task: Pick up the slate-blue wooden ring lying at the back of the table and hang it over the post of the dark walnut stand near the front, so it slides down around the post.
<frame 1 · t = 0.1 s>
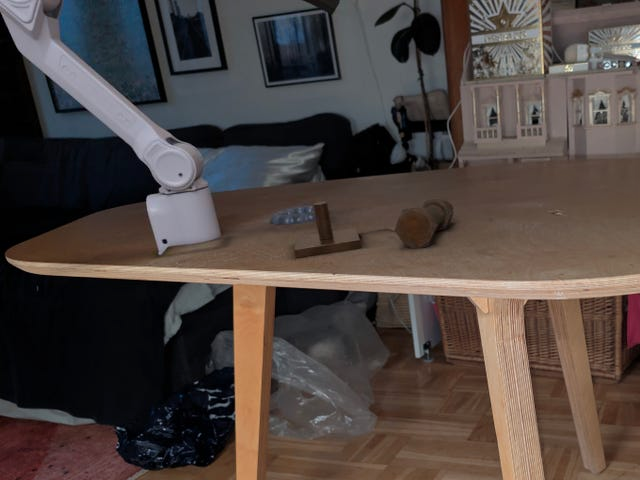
hand: (337, 6, 104), 32 cm above the table, tool tilted 50°, fingers open, 7 cm apart
ring: (300, 217, 119), point 1 cm above the table
stand: (328, 246, 101), on the table
bolt: (433, 235, 101), on the table
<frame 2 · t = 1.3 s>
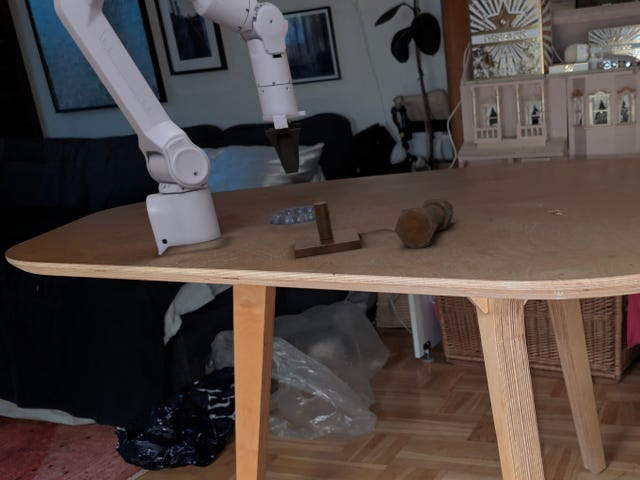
hand: (292, 170, 120), 9 cm above the table, tool pointing down, fingers open, 7 cm apart
nothing on the table moved.
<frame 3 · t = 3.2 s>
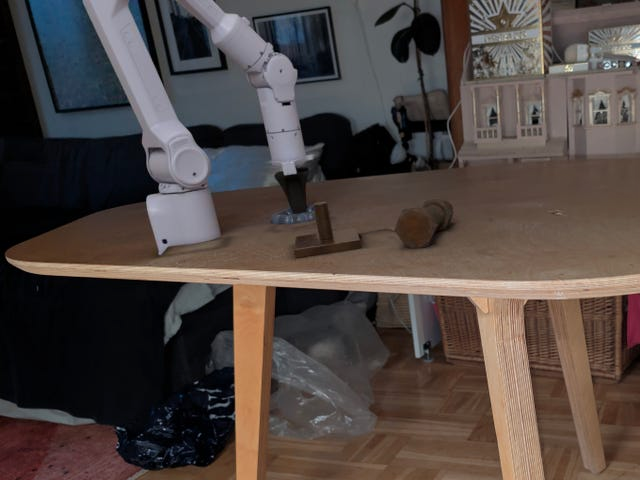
hand: (300, 212, 122), 1 cm above the table, tool pointing down, fingers closed on ring, 2 cm apart
ring: (300, 217, 119), point 1 cm above the table, touching gripper
everything else where it was.
when the fingers open (4 cm above the table, at t = 8.2 s): ring drops 2 cm, resting on stand.
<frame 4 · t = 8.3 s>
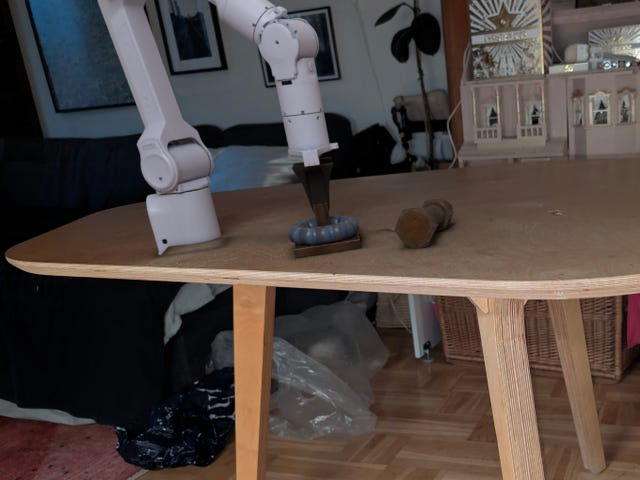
hand: (321, 211, 103), 4 cm above the table, tool pointing down, fingers open, 3 cm apart
ring: (324, 229, 100), point 2 cm above the table, touching stand
everything else where it was.
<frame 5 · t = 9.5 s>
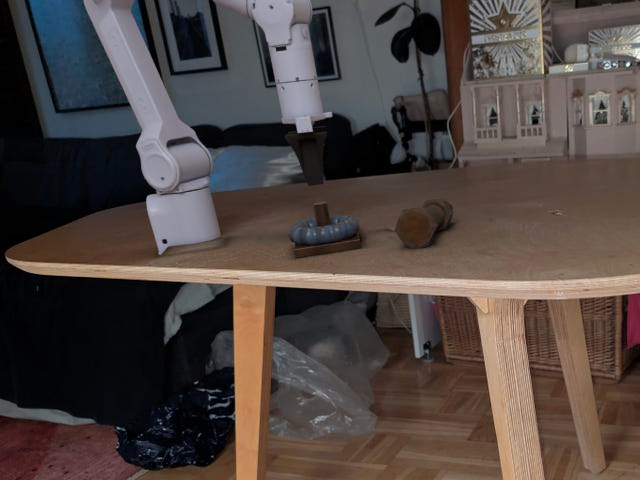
hand: (315, 181, 102), 9 cm above the table, tool pointing down, fingers open, 7 cm apart
nothing on the table moved.
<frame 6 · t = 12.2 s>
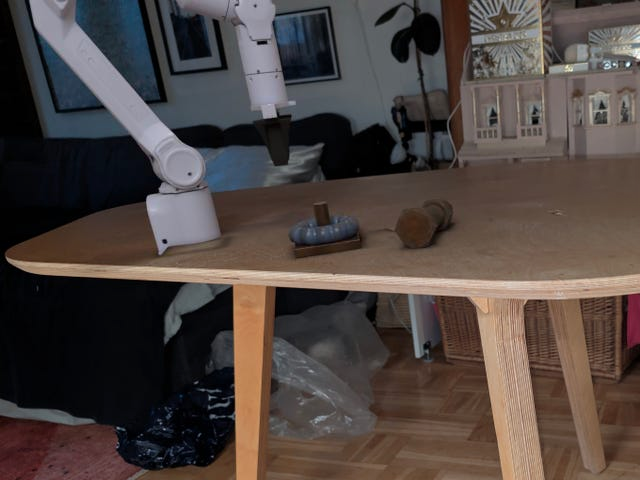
hand: (282, 163, 114), 10 cm above the table, tool pointing down, fingers open, 7 cm apart
nothing on the table moved.
at the end: ring 0.3 cm from the stand (horizontally); ring point 2.4 cm above the table; the gripper is holding nothing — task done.
